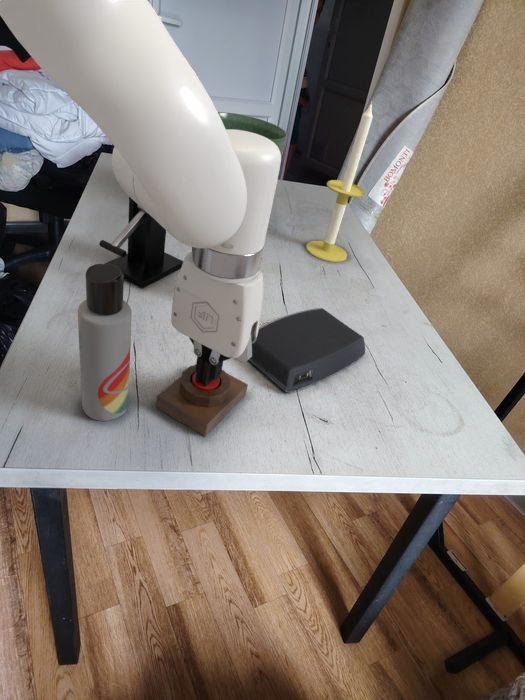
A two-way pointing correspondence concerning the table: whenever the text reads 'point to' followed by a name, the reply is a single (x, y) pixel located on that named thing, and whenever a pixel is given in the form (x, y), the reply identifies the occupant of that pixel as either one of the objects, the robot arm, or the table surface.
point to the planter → (255, 127)
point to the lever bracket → (146, 253)
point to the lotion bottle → (104, 344)
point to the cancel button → (209, 387)
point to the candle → (342, 197)
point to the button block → (200, 401)
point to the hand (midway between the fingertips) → (207, 378)
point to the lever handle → (124, 234)
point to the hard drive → (305, 348)
